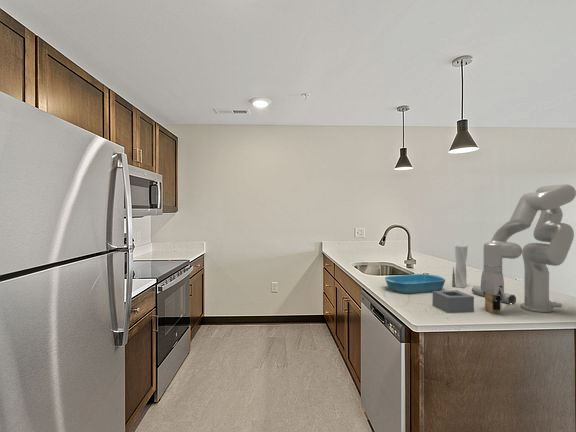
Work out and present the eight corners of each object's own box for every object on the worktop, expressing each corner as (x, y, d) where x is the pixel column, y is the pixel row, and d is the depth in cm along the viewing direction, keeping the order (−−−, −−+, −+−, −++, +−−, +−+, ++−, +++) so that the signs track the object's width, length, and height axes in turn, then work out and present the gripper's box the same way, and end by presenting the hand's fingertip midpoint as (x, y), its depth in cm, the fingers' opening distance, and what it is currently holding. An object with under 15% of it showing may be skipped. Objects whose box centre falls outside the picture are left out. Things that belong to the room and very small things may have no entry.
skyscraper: (454, 284, 216) (454, 241, 215) (468, 286, 211) (468, 242, 211) (451, 287, 209) (451, 242, 209) (466, 289, 204) (466, 243, 204)
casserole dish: (399, 296, 188) (399, 283, 188) (377, 287, 209) (377, 276, 209) (453, 291, 198) (453, 279, 198) (427, 283, 219) (427, 272, 219)
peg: (493, 310, 160) (493, 289, 160) (500, 312, 155) (500, 291, 155) (485, 310, 159) (485, 289, 159) (491, 313, 155) (491, 291, 155)
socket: (456, 304, 170) (456, 290, 170) (473, 311, 157) (473, 296, 157) (432, 305, 169) (432, 291, 169) (447, 312, 156) (447, 297, 156)
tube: (468, 286, 193) (506, 297, 168) (475, 283, 194) (514, 292, 170) (470, 295, 193) (509, 306, 169) (478, 291, 194) (517, 302, 170)
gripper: (473, 266, 165) (473, 303, 165) (498, 272, 148) (498, 313, 149) (487, 266, 166) (487, 302, 166) (514, 272, 149) (514, 313, 149)
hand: (492, 307), depth 157 cm, fingers closed on peg, 4 cm apart
